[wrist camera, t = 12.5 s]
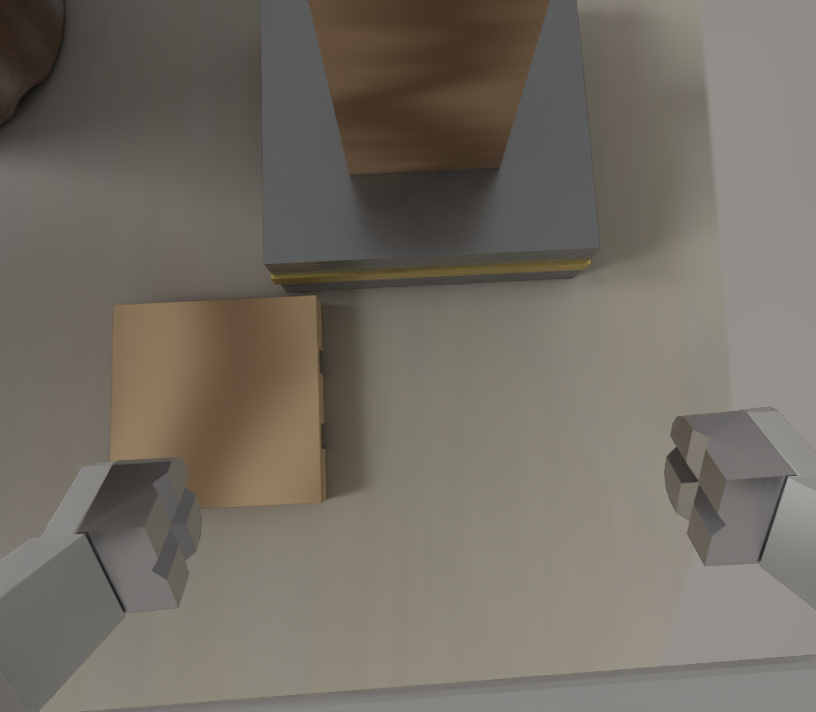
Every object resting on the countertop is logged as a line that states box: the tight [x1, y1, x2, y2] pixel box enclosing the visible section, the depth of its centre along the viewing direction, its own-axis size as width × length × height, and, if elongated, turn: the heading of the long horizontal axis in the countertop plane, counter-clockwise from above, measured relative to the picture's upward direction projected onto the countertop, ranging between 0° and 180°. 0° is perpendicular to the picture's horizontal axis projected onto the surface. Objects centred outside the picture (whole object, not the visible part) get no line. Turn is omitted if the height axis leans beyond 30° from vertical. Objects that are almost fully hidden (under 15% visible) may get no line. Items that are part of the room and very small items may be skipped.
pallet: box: [110, 295, 327, 508], centre depth 25 cm, size 8×8×2 cm
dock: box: [260, 0, 600, 292], centre depth 26 cm, size 12×12×4 cm
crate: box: [308, 0, 550, 175], centre depth 19 cm, size 6×6×10 cm
